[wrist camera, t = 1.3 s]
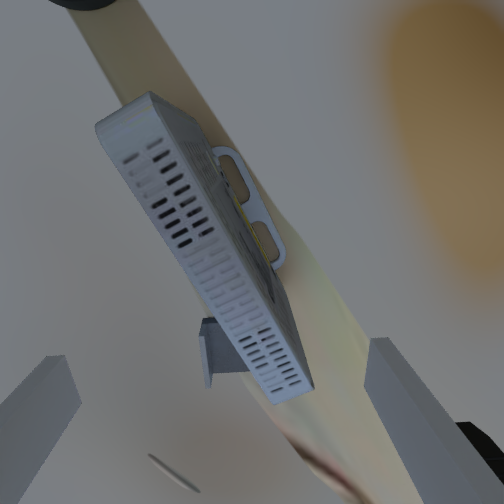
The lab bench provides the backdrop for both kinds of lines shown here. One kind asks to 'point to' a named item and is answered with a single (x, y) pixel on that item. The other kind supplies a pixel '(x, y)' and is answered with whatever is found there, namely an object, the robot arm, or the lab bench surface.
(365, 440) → the lab bench surface
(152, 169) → the network device
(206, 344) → the bracket
